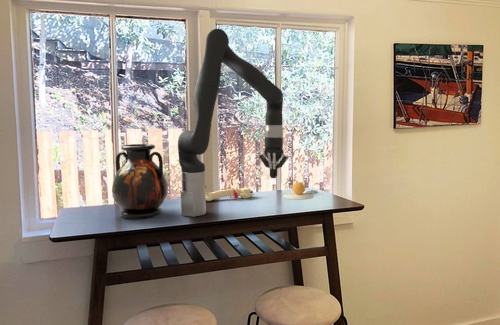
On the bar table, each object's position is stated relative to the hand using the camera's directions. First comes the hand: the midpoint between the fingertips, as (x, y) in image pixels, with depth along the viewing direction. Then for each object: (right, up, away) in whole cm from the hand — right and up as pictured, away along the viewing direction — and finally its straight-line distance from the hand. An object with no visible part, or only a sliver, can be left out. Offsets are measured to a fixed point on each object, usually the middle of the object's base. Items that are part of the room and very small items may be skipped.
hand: (273, 177), depth 178 cm
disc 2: (+19, -8, +36) cm, 42 cm away
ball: (+14, -6, +30) cm, 34 cm away
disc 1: (+13, -10, +26) cm, 31 cm away
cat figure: (-20, -11, +21) cm, 31 cm away
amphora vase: (-53, -15, -7) cm, 56 cm away
